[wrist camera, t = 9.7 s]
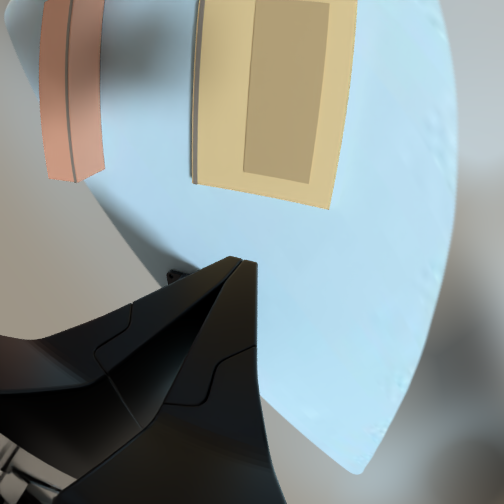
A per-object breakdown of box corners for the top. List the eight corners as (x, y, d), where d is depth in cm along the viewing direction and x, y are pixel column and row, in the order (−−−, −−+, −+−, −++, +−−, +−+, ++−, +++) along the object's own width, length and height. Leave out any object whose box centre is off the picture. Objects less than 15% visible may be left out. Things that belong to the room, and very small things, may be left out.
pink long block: (105, 169, 23) (77, 183, 20) (73, 166, 24) (48, 178, 22) (106, -14, 13) (76, -18, 10) (72, 2, 14) (43, 2, 12)
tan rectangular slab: (329, 206, 19) (328, 210, 18) (195, 180, 21) (191, 183, 21) (358, -43, 9) (358, -47, 8) (208, -43, 11) (203, -46, 10)
